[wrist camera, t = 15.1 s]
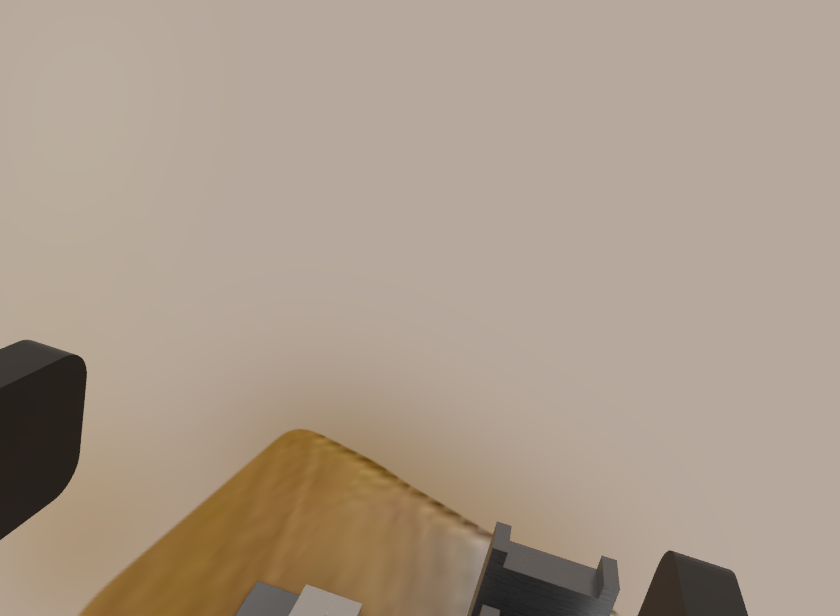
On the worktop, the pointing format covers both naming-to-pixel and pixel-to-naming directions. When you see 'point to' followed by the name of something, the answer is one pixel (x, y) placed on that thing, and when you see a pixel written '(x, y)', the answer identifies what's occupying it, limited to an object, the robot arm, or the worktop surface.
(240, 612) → the mat
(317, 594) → the rail
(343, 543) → the worktop surface
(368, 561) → the worktop surface
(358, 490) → the worktop surface
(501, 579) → the rack
